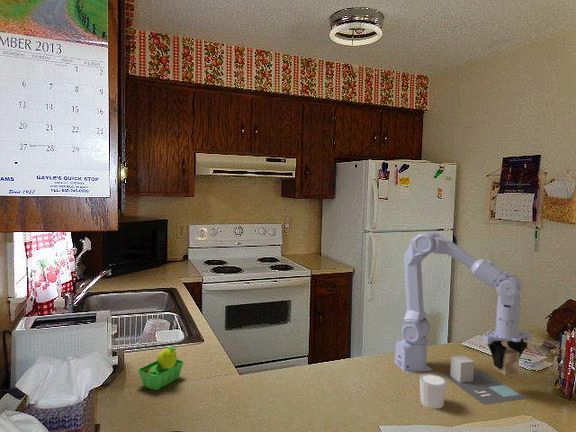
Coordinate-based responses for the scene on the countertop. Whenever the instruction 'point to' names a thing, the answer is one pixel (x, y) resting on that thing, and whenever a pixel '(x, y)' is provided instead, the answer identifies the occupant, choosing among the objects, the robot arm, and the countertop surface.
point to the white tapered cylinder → (432, 390)
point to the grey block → (462, 369)
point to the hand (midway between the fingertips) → (505, 366)
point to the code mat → (487, 388)
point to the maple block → (509, 362)
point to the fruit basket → (161, 370)
